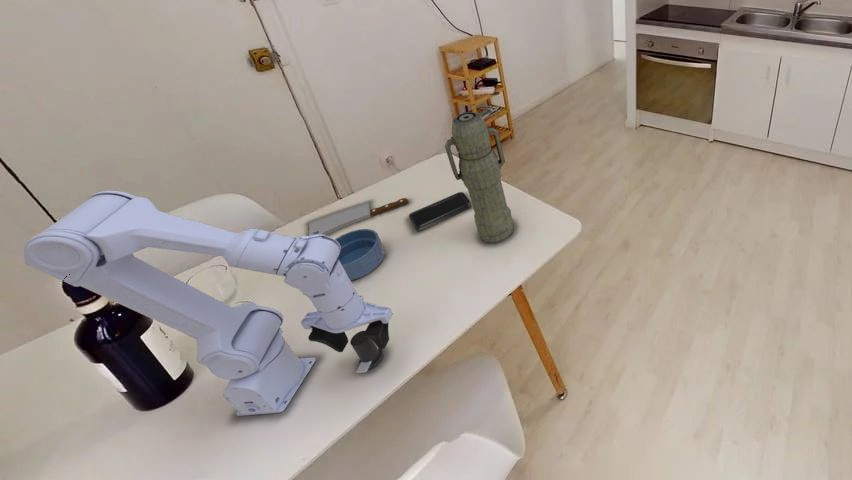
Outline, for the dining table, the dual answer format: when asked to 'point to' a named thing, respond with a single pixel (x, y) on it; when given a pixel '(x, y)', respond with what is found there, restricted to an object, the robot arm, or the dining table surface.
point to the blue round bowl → (360, 252)
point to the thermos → (481, 175)
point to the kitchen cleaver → (349, 217)
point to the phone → (439, 211)
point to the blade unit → (366, 352)
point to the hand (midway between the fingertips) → (364, 345)
